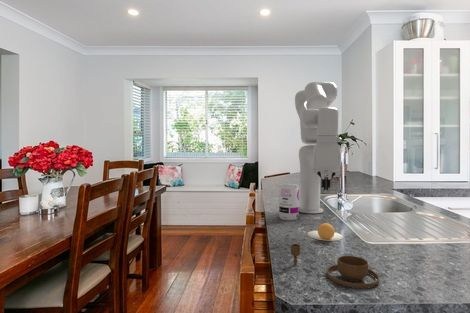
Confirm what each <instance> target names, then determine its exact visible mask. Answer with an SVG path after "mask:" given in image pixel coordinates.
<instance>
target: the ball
mask: <svg viewBox="0 0 470 313" xmlns="http://www.w3.org/2000/svg"><path fill="white" fill-rule="evenodd" d="M317 231H318V235H319V236H320V237H321V238H322V239H324V240H329V239H331V238H332V237H333V236H334V233H335V228H334V227H333V225H331V224H330V223H328V222H324V223H322V224H320V225H319V226H318V228H317ZM324 240H323V241H324Z"/></svg>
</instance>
